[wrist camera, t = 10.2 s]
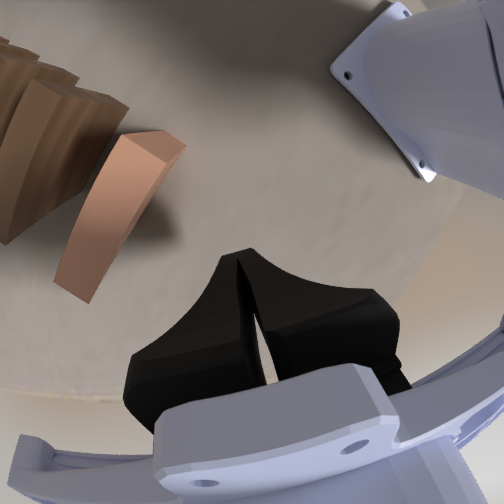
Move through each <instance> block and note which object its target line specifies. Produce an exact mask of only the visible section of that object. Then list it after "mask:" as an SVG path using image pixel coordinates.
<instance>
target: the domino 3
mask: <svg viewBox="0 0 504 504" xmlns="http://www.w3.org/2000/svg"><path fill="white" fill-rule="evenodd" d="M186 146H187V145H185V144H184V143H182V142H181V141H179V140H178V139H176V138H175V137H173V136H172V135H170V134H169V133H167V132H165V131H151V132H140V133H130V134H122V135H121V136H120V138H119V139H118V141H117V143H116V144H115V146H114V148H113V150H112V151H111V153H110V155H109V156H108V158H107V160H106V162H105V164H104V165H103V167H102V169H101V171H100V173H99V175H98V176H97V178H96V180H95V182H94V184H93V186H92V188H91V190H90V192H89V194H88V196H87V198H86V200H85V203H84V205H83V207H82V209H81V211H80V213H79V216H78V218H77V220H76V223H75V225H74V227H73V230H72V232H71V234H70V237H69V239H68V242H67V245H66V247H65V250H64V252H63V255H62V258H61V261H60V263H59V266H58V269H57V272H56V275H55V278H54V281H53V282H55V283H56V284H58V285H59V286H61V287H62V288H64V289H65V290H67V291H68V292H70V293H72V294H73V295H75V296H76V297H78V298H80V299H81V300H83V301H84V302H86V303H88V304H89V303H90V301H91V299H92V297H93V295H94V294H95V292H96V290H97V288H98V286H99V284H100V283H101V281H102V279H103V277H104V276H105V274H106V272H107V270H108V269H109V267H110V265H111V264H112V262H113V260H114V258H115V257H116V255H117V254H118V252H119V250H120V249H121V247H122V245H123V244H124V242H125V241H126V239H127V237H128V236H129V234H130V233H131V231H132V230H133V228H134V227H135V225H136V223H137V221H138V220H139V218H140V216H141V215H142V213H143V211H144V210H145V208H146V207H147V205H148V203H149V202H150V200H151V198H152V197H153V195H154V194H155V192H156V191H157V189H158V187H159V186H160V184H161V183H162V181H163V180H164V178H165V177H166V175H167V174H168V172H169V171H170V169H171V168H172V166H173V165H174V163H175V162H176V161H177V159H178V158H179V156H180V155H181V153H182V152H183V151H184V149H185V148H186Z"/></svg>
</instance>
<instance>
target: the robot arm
mask: <svg viewBox="0 0 504 504" xmlns="http://www.w3.org/2000/svg"><path fill="white" fill-rule="evenodd" d="M403 13H404V14H405V15H406V16H405V15H404V14H403ZM330 71H331V74H332V75H333V76H334V77H335V78H336V79H337V80H338V81H339V82H340V83H341V84H342V85H343V86H344V87H345V88H346V89H347V90H348V91H349V92H350V93H351V94H352V95H353V96H354V97H355V98H356V99H357V100H358V101H359V102H360V103H361V104H362V105H363V106H364V107H365V108H366V109H367V111H368V112H369V113H370V114H371V115H372V116H373V117H374V118H375V119H376V121H377V122H378V123H379V124H380V125H381V126H382V128H383V129H384V130H385V131H386V132H387V134H388V135H389V136H390V137H391V138H392V140H393V141H394V142H395V143H396V145H397V146H398V147H399V149H400V150H401V151H402V152H403V154H404V155H405V156H406V158H407V159H408V160H409V162H410V163H411V164H412V166H413V167H414V169H415V170H416V171H417V173H418V174H419V176H420V177H421V179H422V180H423V181H425V182H431V181H432V180H433V178H434V177H435V175H436V174H440V175H443V176H446V177H449V178H452V179H454V180H457V181H460V182H462V183H465V184H467V185H470V186H472V187H475V188H477V189H480V190H482V191H485V192H487V193H489V194H491V195H494V196H496V197H498V198H501V199H504V0H466V1H461V2H457V3H453V4H449V5H445V6H442V7H438V8H434V9H431V10H427V11H424V12H421V13H418V14H415V15H412V14H411V12H410V11H409V10H408V9H407V8H406V7H405V6H404V5H403V4H402V3H400V2H397V1H396V2H394V3H392V4H391V5H390V6H389V7H388V8H387V9H385V10H384V11H383V12H382V13H381V14H380V15H379V16H378V17H377V18H376V19H375V20H374V21H373V22H372V23H371V24H370V25H369V26H368V27H367V28H366V29H365V30H364V31H363V32H362V33H361V34H360V35H359V36H358V37H357V38H356V39H355V40H354V41H353V42H352V43H351V44H350V45H349V46H348V47H347V48H346V49H345V50H344V51H343V52H342V53H341V54H340V55H339V56H338V57H337V58H336V59H335V61H334V62H333V63H332V64H331V66H330ZM345 72H346V73H348V75H349V80H347V79H345V77H344V73H345ZM420 161H421V165H420V166H419V162H420ZM254 314H255V317H256V319H257V322H258V324H259V327H260V329H261V332H262V334H263V337H264V339H265V342H266V344H267V346H268V349H269V351H270V354H271V357H272V360H273V363H274V367H275V370H276V373H277V377H278V380H279V382H276V383H272V384H269V385H267V383H266V379H265V375H264V372H263V368H262V364H261V359H260V354H259V347H258V340H257V333H256V326H255V319H254ZM399 331H400V321H399V318H398V315H397V313H396V312H395V311H394V310H393V309H392V307H391V306H390V305H389V304H388V303H387V302H386V301H385V300H384V299H383V298H382V297H381V296H380V295H379V294H378V293H377V292H376V291H375V290H374V289H362V288H343V287H336V286H329V285H324V284H320V283H316V282H312V281H308V280H305V279H302V278H300V277H297V276H295V275H292V274H290V273H287V272H285V271H284V270H282V269H280V268H278V267H277V266H275V265H274V264H272V263H271V262H269V261H268V260H266V259H265V258H264V257H262V256H261V255H260V254H259V253H257V252H256V251H255V250H254V249H252V248H248V249H245V250H241V251H238V252H234V253H230V254H227V255H223V256H221V258H220V260H219V262H218V265H217V267H216V269H215V271H214V274H213V275H212V277H211V279H210V281H209V283H208V285H207V287H206V288H205V290H204V291H203V293H202V295H201V296H200V298H199V299H198V300H197V301H196V303H195V304H194V305H193V306H192V308H191V309H190V310H189V311H188V312H187V313H186V314H185V315H184V316H183V317H182V318H181V319H180V320H179V321H178V322H177V323H176V324H175V325H174V326H173V327H172V328H170V329H169V330H168V331H167V332H166V333H164V334H163V335H162V336H161V337H159V338H158V339H157V340H155V341H154V342H152V343H151V344H149V345H148V346H146V347H144V348H143V349H141V350H140V351H138V352H137V353H135V354H133V355H132V357H131V360H130V364H129V367H128V372H127V377H126V382H125V388H124V394H123V401H124V404H125V406H126V408H127V409H128V410H129V412H130V413H131V414H132V415H133V416H134V417H135V418H136V419H137V420H138V421H139V422H140V423H141V424H142V425H143V426H144V427H146V428H147V429H148V430H149V431H150V432H151V433H152V434H153V435H154V442H153V454H152V455H109V454H92V453H80V452H71V451H63V450H56V449H54V448H53V447H52V446H51V445H50V444H48V443H47V442H46V441H44V440H42V439H40V438H38V437H34V436H28V435H23V434H21V435H20V436H19V439H18V443H17V446H16V449H15V453H14V457H13V461H12V465H11V469H10V473H9V477H8V482H7V484H8V486H9V487H11V488H13V489H14V490H16V491H17V492H19V493H21V494H23V495H24V496H26V497H28V498H30V499H32V500H33V501H35V502H37V503H39V504H488V503H487V501H486V499H485V497H484V495H483V493H482V491H481V489H480V487H479V485H478V484H477V482H476V480H475V478H474V476H473V475H472V473H471V471H470V469H469V467H468V466H467V464H466V462H465V460H464V459H463V457H462V455H461V453H460V452H459V450H460V449H461V448H462V447H464V446H465V445H466V444H467V443H469V442H470V441H471V440H472V439H474V438H475V437H476V436H477V435H478V434H480V433H481V432H482V431H483V430H484V429H485V428H486V427H488V426H489V425H490V424H491V423H492V422H493V421H494V420H495V419H496V418H497V417H499V415H501V414H502V413H503V412H504V315H503V317H502V320H501V323H500V327H498V328H497V329H496V330H495V331H493V332H492V333H491V334H489V335H488V336H487V337H485V338H484V339H483V340H482V341H480V342H479V343H477V344H476V345H474V346H473V347H472V348H470V349H469V350H467V351H466V352H464V353H463V354H462V355H460V356H458V357H457V358H455V359H454V360H452V361H451V362H449V363H448V364H446V365H444V366H443V367H441V368H439V369H438V370H436V371H434V372H433V373H431V374H429V375H427V376H426V377H424V378H422V379H420V380H418V381H417V382H415V383H413V384H411V385H410V383H409V382H408V380H407V379H406V377H405V376H404V374H403V373H402V371H401V370H400V368H401V366H402V365H401V362H400V360H399V359H398V357H397V356H396V355H395V353H396V348H397V343H398V337H399Z"/></svg>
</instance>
